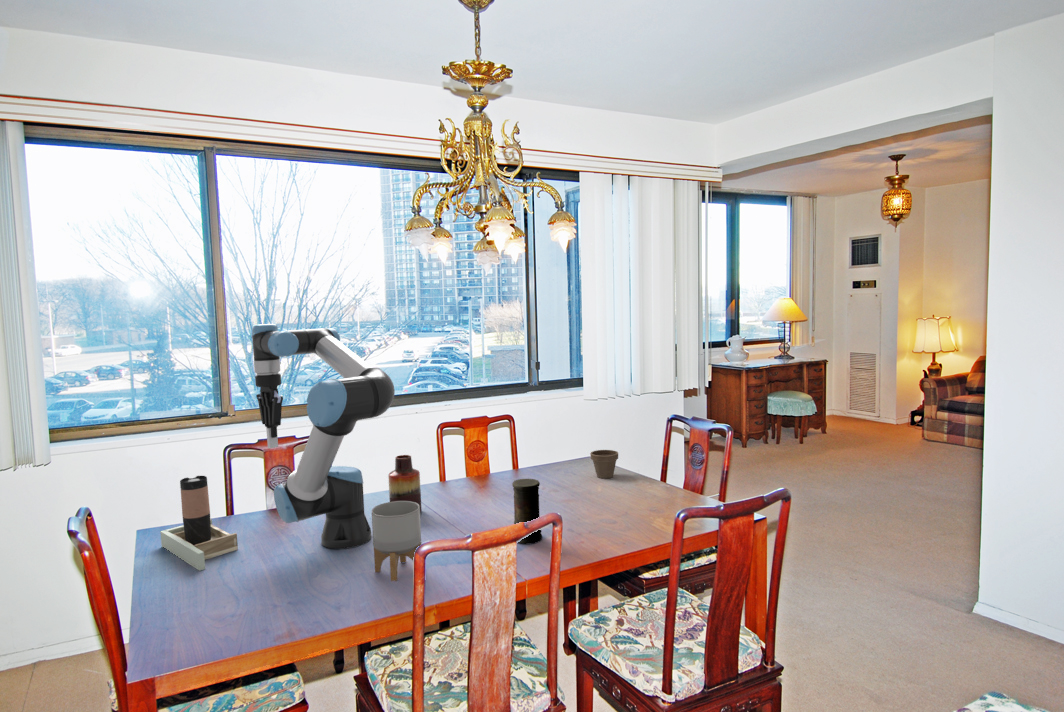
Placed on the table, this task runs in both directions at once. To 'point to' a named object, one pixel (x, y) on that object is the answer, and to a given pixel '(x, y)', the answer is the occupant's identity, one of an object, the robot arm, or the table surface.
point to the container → (527, 505)
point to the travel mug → (195, 509)
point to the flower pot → (604, 462)
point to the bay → (182, 547)
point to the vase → (404, 481)
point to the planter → (395, 533)
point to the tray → (215, 543)
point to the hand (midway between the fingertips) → (272, 447)
